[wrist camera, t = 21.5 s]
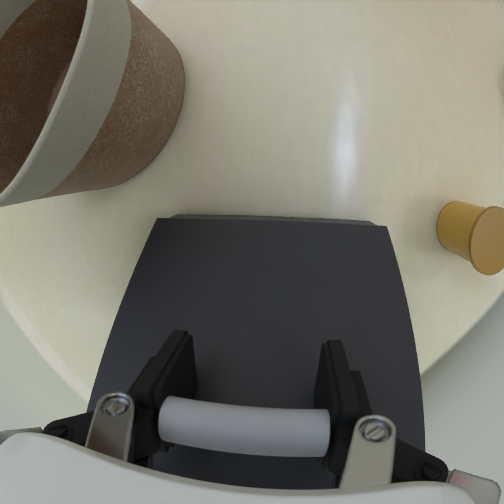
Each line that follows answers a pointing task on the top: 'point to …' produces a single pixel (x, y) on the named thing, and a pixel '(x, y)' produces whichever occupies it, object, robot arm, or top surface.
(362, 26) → the top surface
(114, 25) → the planter
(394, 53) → the top surface
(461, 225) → the coffee pod
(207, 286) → the lid
